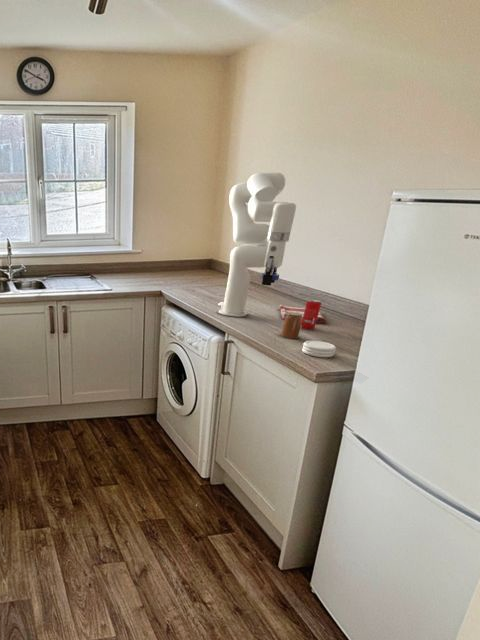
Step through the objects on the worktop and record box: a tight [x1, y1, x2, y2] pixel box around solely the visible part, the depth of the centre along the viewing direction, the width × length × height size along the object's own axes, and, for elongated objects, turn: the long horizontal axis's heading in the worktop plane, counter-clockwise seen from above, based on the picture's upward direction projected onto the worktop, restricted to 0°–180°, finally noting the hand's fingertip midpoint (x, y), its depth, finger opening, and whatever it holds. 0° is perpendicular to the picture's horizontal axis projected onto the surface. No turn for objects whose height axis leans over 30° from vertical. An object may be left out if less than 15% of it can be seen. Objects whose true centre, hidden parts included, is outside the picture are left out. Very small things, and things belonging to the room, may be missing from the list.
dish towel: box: [278, 304, 327, 324], centre depth 214 cm, size 17×23×3 cm
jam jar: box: [280, 312, 303, 340], centre depth 183 cm, size 6×6×10 cm
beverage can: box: [301, 299, 322, 331], centre depth 194 cm, size 5×5×12 cm
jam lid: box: [259, 272, 280, 281], centre depth 180 cm, size 7×7×2 cm
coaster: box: [301, 340, 337, 359], centre depth 165 cm, size 10×10×4 cm
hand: (268, 283), depth 181 cm, fingers closed on jam lid, 6 cm apart
